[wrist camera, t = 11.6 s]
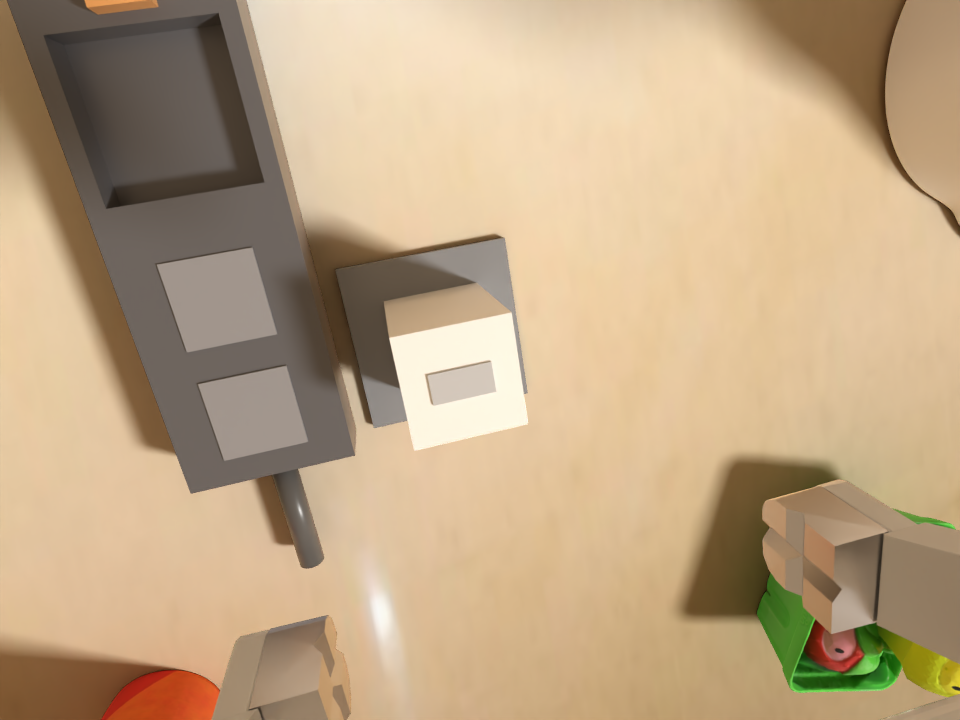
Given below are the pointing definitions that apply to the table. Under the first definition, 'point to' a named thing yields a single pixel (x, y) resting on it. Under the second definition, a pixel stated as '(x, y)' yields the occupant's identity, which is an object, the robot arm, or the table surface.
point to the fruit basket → (848, 648)
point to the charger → (455, 364)
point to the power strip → (199, 233)
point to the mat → (406, 278)
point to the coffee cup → (165, 698)
